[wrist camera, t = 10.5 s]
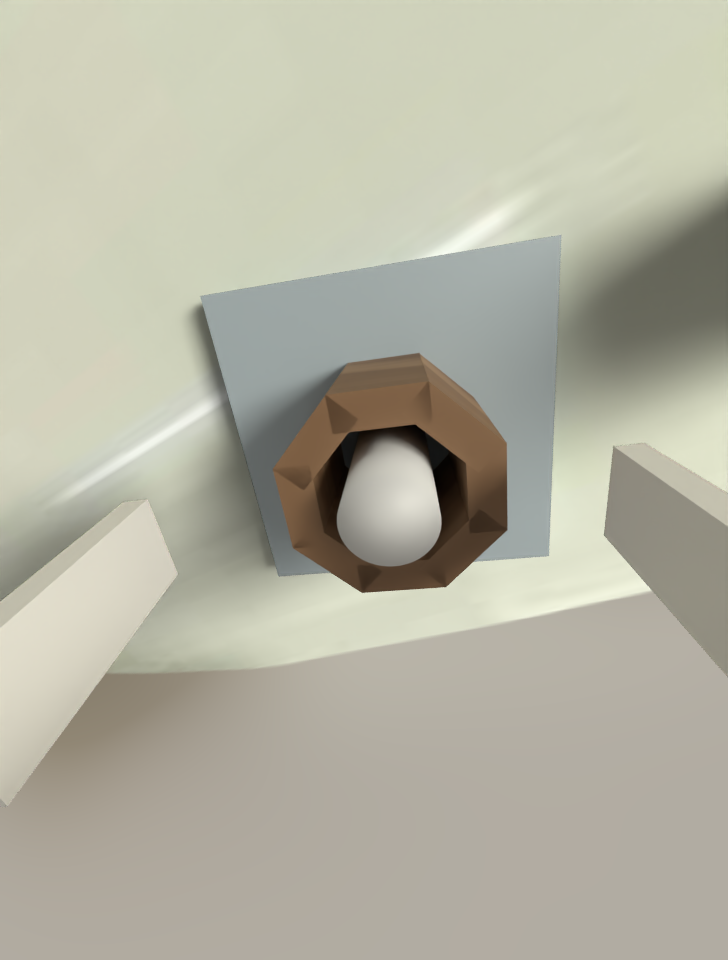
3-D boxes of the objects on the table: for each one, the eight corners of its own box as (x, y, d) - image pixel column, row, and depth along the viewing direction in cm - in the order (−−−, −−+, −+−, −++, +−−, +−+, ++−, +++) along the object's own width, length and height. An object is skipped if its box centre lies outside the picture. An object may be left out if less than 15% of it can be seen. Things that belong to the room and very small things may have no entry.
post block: (285, 560, 24) (226, 700, 16) (214, 295, 18) (65, 298, 10) (539, 539, 22) (623, 686, 14) (547, 239, 16) (696, 187, 8)
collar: (329, 516, 21) (305, 596, 15) (299, 369, 18) (256, 403, 12) (477, 502, 20) (508, 582, 14) (471, 345, 17) (506, 371, 11)
